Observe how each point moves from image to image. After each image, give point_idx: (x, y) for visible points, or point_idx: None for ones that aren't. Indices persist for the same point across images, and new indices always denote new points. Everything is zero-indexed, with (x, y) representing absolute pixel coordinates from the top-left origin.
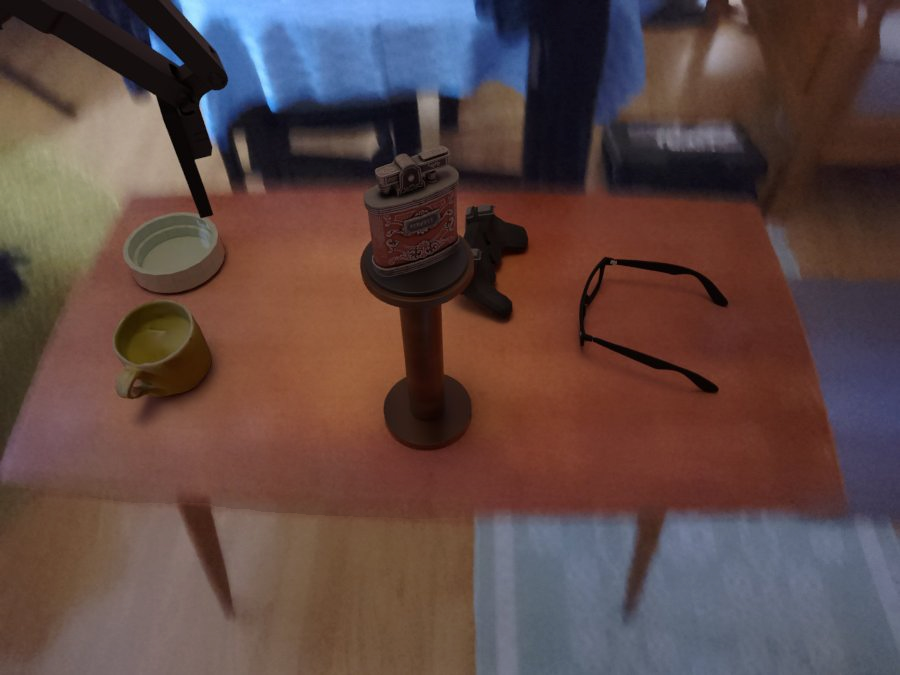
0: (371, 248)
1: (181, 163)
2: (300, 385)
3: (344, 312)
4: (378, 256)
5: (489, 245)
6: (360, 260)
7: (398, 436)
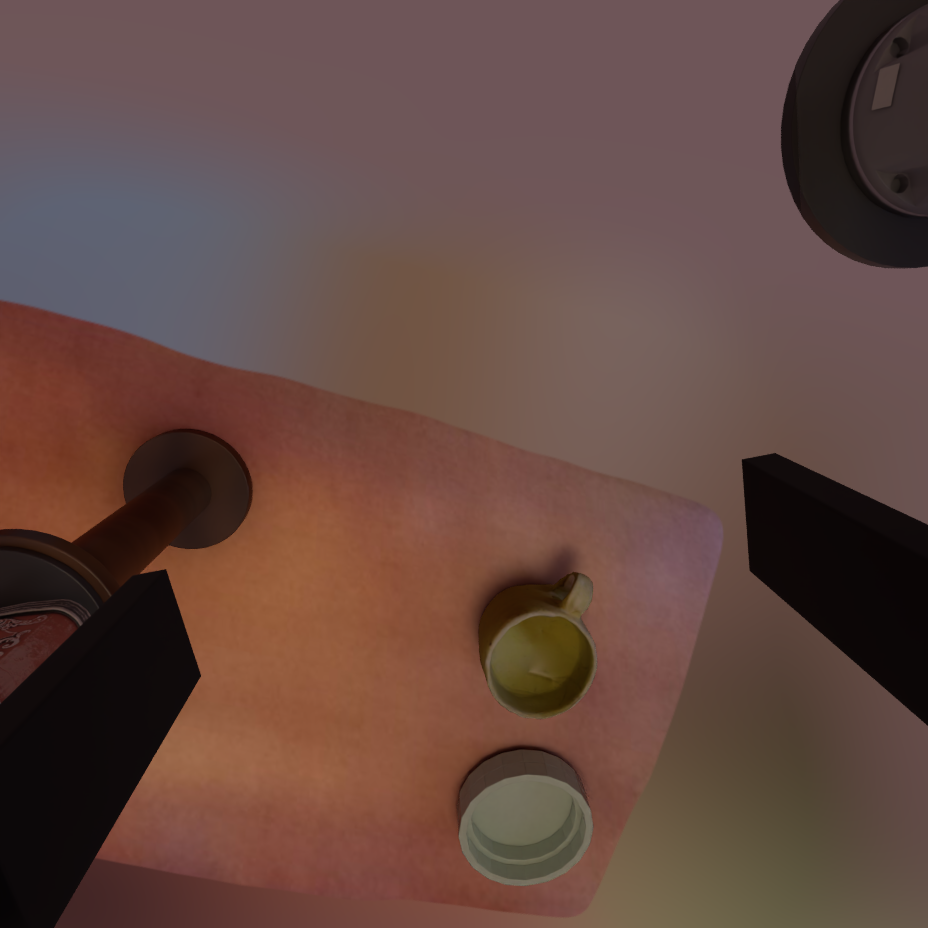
0: None
1: (70, 665)
2: (363, 566)
3: (294, 673)
4: (58, 631)
5: None
6: None
7: (232, 454)
